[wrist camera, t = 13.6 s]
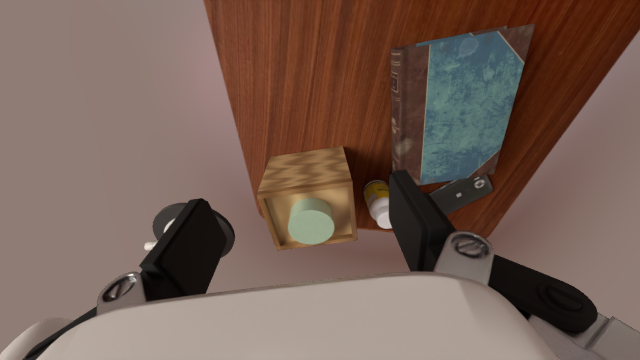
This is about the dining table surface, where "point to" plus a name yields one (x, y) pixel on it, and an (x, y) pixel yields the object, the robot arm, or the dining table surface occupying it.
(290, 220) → the disc
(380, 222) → the supplement bottle
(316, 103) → the dining table surface
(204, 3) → the dining table surface
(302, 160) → the open wooden box
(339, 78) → the dining table surface
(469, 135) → the book
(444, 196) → the smartphone
